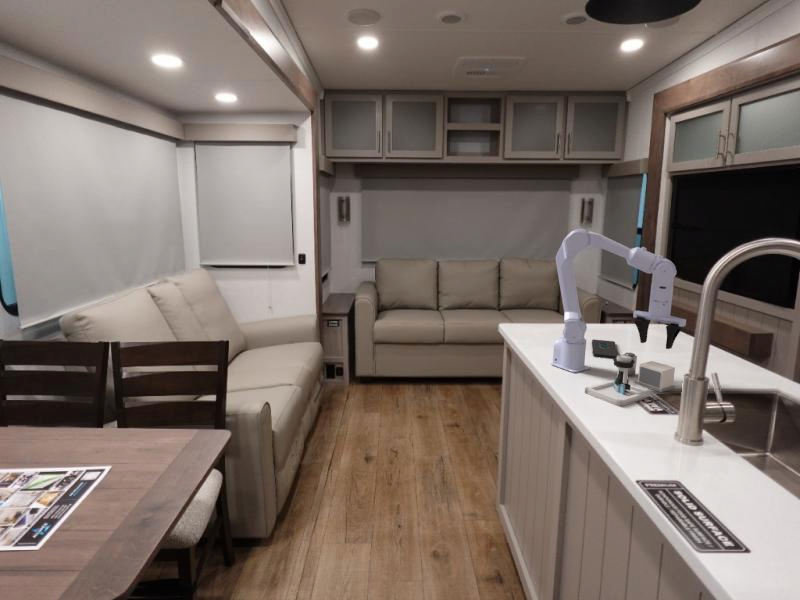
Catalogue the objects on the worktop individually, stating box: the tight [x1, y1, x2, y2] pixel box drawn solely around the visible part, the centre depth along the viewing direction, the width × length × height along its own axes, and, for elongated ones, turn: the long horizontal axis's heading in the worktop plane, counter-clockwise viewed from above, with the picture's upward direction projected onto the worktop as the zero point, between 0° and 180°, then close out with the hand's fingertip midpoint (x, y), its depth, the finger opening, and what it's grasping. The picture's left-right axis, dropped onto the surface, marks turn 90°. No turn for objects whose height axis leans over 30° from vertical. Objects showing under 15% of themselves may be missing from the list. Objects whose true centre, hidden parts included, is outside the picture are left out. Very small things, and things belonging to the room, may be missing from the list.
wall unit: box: [634, 360, 676, 393], centre depth 142 cm, size 8×7×6 cm
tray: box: [584, 379, 651, 407], centre depth 135 cm, size 11×13×2 cm
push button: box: [612, 354, 635, 395], centre depth 135 cm, size 7×5×10 cm
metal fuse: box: [622, 352, 638, 378], centre depth 152 cm, size 4×4×7 cm
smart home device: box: [591, 339, 619, 360], centre depth 177 cm, size 8×2×20 cm
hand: (655, 345), depth 147 cm, fingers open, 7 cm apart
